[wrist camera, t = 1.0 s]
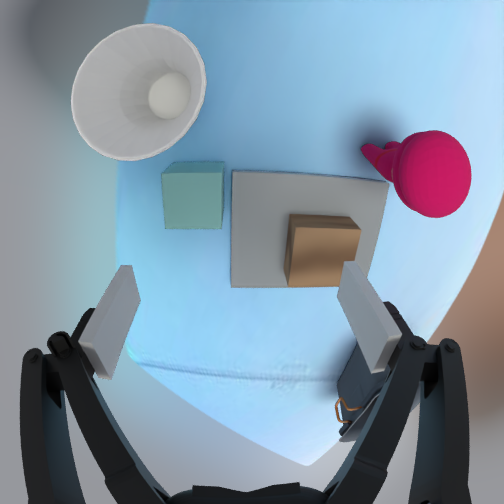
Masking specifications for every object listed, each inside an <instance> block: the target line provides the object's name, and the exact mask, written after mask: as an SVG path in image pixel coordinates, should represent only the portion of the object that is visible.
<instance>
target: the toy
mask: <svg viewBox="0 0 504 504" xmlns="http://www.w3.org/2000/svg"><path fill="white" fill-rule="evenodd" d="M361 151H362V153H363V154H364V156H365V157H366V158H367V159H368V160H369V161H370V163H371V164H372V165H373V166H374V167H375V168H376V169H377V170H378V171H379V173H380V174H381V175H382V176H383V177H384V178H385V179H387V180H388V181H390V182H393V183H394V187H395V190H396V192H397V194H398V196H399V197H400V199H401V200H402V202H403V203H404V204H405V205H406V206H407V207H409V208H410V209H412V210H414V211H417V212H418V213H420V214H422V215H424V216H427V217H431V218H440V217H444V216H447V215H450V214H451V213H453V212H455V211H456V210H457V209H458V208H459V207H460V206H461V205H462V203H463V202H464V201H465V199H466V197H467V195H468V192H469V189H470V185H471V166H470V162H469V158H468V156H467V154H466V152H465V150H464V148H463V147H462V145H461V144H460V143H459V142H458V141H457V140H456V139H455V138H454V137H452V136H451V135H449V134H447V133H445V132H442V131H437V130H433V131H426V132H418V133H414V134H412V135H410V136H408V137H407V138H405V139H404V140H403V142H402V143H398V142H396V141H392V142H388V143H387V144H386V145H385V149H381V148H379V147H377V146H375V145H373V144H366V145H364V146H362V148H361Z"/></svg>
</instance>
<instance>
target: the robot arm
mask: <svg viewBox="0 0 504 504" xmlns="http://www.w3.org/2000/svg"><path fill="white" fill-rule="evenodd" d="M337 298H338V300H339V302H340V304H341V306H342V309H343V311H344V313H345V315H346V317H347V319H348V322H349V324H350V326H351V328H352V330H353V333H354V335H355V337H356V339H357V342H358V344H359V346H360V348H361V351H362V353H363V355H364V358H365V360H366V362H367V365H368V367H369V369H370V372H371V374H372V373H377V372H382V371H384V370H385V368H386V366H387V364H388V365H389V367H390V371H389V373H388V375H387V376H386V378H385V380H384V385H383V387H382V389H381V392H380V394H379V396H378V398H377V401H376V403H375V405H374V407H373V409H372V411H371V413H370V415H369V417H368V419H367V421H366V423H365V425H364V427H363V429H362V431H361V433H360V435H359V436H358V438H357V440H356V442H355V444H354V445H353V447H352V449H351V451H350V452H349V454H348V456H347V457H346V459H345V461H344V462H343V464H342V466H341V467H340V469H339V470H338V472H337V474H336V475H335V476H334V478H333V479H332V480H331V482H330V483H329V484H328V485H327V487H326V488H325V490H324V491H323V492H321V491H318V490H316V489H312V488H309V487H303V486H300V483H299V482H297V483H288V484H279V485H272V486H268V487H265V488H262V489H258V490H254V491H250V492H241V491H236V490H231V489H227V488H222V487H214V486H194V485H193V487H192V490H187V491H183V492H180V493H177V494H176V495H174V496H172V497H170V496H169V494H168V493H167V492H166V491H165V490H164V489H163V488H162V487H161V485H160V484H159V483H158V482H157V481H156V480H155V479H154V478H153V476H152V475H151V473H150V472H149V471H148V469H147V468H146V466H145V465H144V464H143V462H142V461H141V459H140V458H139V457H138V455H137V454H136V452H135V451H134V449H133V448H132V446H131V445H130V443H129V441H128V440H127V438H126V437H125V435H124V433H123V432H122V430H121V429H120V427H119V425H118V423H117V422H116V420H115V418H114V417H113V415H112V413H111V411H110V409H109V408H108V406H107V404H106V402H105V400H104V398H103V396H102V394H101V392H100V390H99V388H98V386H97V384H96V382H95V380H94V378H93V374H94V372H96V374H97V376H98V377H99V378H103V379H110V380H111V379H112V376H113V373H114V370H115V368H116V365H117V362H118V359H119V356H120V353H121V350H122V348H123V345H124V342H125V339H126V337H127V334H128V332H129V329H130V326H131V324H132V321H133V319H134V316H135V313H136V311H137V309H138V306H139V304H140V301H141V300H140V296H139V292H138V288H137V284H136V280H135V276H134V272H133V268H132V265H121V266H120V268H119V269H118V271H117V273H116V274H115V276H114V278H113V280H112V281H111V283H110V284H109V286H108V288H107V289H106V291H105V293H104V295H103V296H102V298H101V300H100V302H99V303H98V305H97V307H96V308H89V309H88V310H87V311H86V312H85V313H84V314H83V316H82V318H81V319H80V322H79V323H78V325H77V327H76V328H75V330H74V332H73V334H72V336H71V338H70V336H69V335H68V333H66V332H64V331H63V332H62V331H60V332H56V333H54V334H53V335H51V337H50V338H49V339H48V341H47V346H48V348H49V350H50V351H51V353H52V354H45V355H43V353H42V351H41V350H40V349H38V348H33V349H30V350H29V351H27V352H26V354H25V355H24V357H23V362H22V373H21V388H20V436H21V450H22V460H23V469H24V476H25V482H26V487H27V493H28V498H29V499H28V504H86V503H85V500H84V497H83V493H82V490H81V486H80V483H79V479H78V476H77V471H76V467H75V462H74V458H73V453H72V448H71V442H70V437H69V430H68V423H67V415H66V407H65V398H64V390H65V392H66V395H67V398H68V400H69V403H70V406H71V408H72V411H73V413H74V415H75V418H76V420H77V423H78V425H79V427H80V429H81V432H82V434H83V436H84V438H85V440H86V442H87V444H88V446H89V448H90V450H91V452H92V454H93V456H94V458H95V460H96V461H97V464H98V465H99V467H100V469H101V471H102V472H103V474H104V476H105V484H106V486H107V488H108V490H109V491H110V493H111V494H112V496H113V497H114V499H115V500H116V502H117V503H118V504H373V502H374V500H375V498H376V497H377V495H378V493H379V491H380V489H381V487H382V485H383V483H384V481H385V479H386V477H387V473H388V472H387V467H388V465H389V462H390V460H391V458H392V456H393V454H394V451H395V449H396V447H397V444H398V442H399V440H400V437H401V435H402V432H403V429H404V427H405V424H406V422H407V419H408V416H409V413H410V410H411V407H412V404H413V401H414V398H415V395H416V392H417V388H418V385H419V382H420V416H419V430H418V442H417V451H416V459H415V466H414V473H413V479H412V484H411V489H410V495H409V503H408V504H472V503H471V498H470V493H469V488H468V473H469V414H468V401H467V392H466V382H465V375H464V368H463V362H462V356H461V350H460V347H459V345H458V344H457V342H455V341H454V340H452V339H449V338H445V339H443V340H442V341H441V342H440V344H439V345H429V344H427V343H426V341H425V340H424V339H423V338H421V337H419V336H415V335H413V333H412V332H411V330H410V328H409V327H408V325H407V324H406V322H405V321H404V319H403V318H402V316H401V314H399V311H398V310H397V308H396V307H395V306H394V305H393V304H391V303H390V302H389V301H388V302H382V300H381V299H380V297H379V296H378V294H377V293H376V291H375V290H374V288H373V287H372V285H371V284H370V282H369V281H368V279H367V278H366V276H365V275H364V273H363V272H362V270H361V269H360V267H359V266H358V264H357V263H356V261H344V265H343V270H342V275H341V280H340V285H339V290H338V294H337Z"/></svg>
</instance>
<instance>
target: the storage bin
mask: <svg viewBox="0 0 504 504" xmlns="http://www.w3.org/2000/svg"><path fill="white" fill-rule="evenodd" d="M389 371H390V367H389V365H388V364H387V366H386V368H385V370H384V371H382V372H377V373H372V374H371V372H370V369H369V367H368V365H367V362H366V360H365V358H364V355H363V353H362V351H361V348H360V346H359V344H357V346H356V348H355V350H354V352H353V354H352V356H351V358H350V360H349V362H348V364H347V366H346V368H345V370H344V372H343V374H342V376H341V377H340V379H339V381H338V383H337V389H338V395H339V399H338V401H337V402H336V404H335V410H336V415H337V420H338V421H339V422H340V423H343V426H342V428H341V429H340V430H339V433H340V435H341V436H342V437H341V438H340V439H339V441H340V442H350V441H355V440H357V438H358V436H359V435H360V433H361V431H362V429H363V427H364V425H365V423H366V421H367V419H368V417H369V415H370V413H371V411H372V409H373V407H374V405H375V403H376V401H377V398H378V396H379V394H380V392H381V389H382V387H383V385H384V380H385V378H386V376H387V375H388V373H389ZM339 402H340V406H341V412H342V419H343V421H342V420H340V417H339V412H338V407H337V406H338V404H339ZM419 403H420V382H419V385H418V388H417V392H416V395H415V398H414V401H413V404H412V407H411V410H410V412H411V411H412V410H413V409H414V408H415V407H416V406H417V405H418V404H419Z"/></svg>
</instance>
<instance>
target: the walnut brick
mask: <svg viewBox="0 0 504 504" xmlns="http://www.w3.org/2000/svg"><path fill="white" fill-rule="evenodd" d="M360 235H361V229H360V227H359V226H358V225H357V224H356V223H355V222H354V221H353V220H352V219H351V218H350V217H346V216H327V215H304V214H289V224H288V234H287V243H286V252H285V261H284V269H283V270H284V274H285V277H286V281H287V285H288V287H330V286H339V285H340V280H341V275H342V270H343V265H344V261H354V260H355V256H356V252H357V248H358V244H359V239H360Z"/></svg>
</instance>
